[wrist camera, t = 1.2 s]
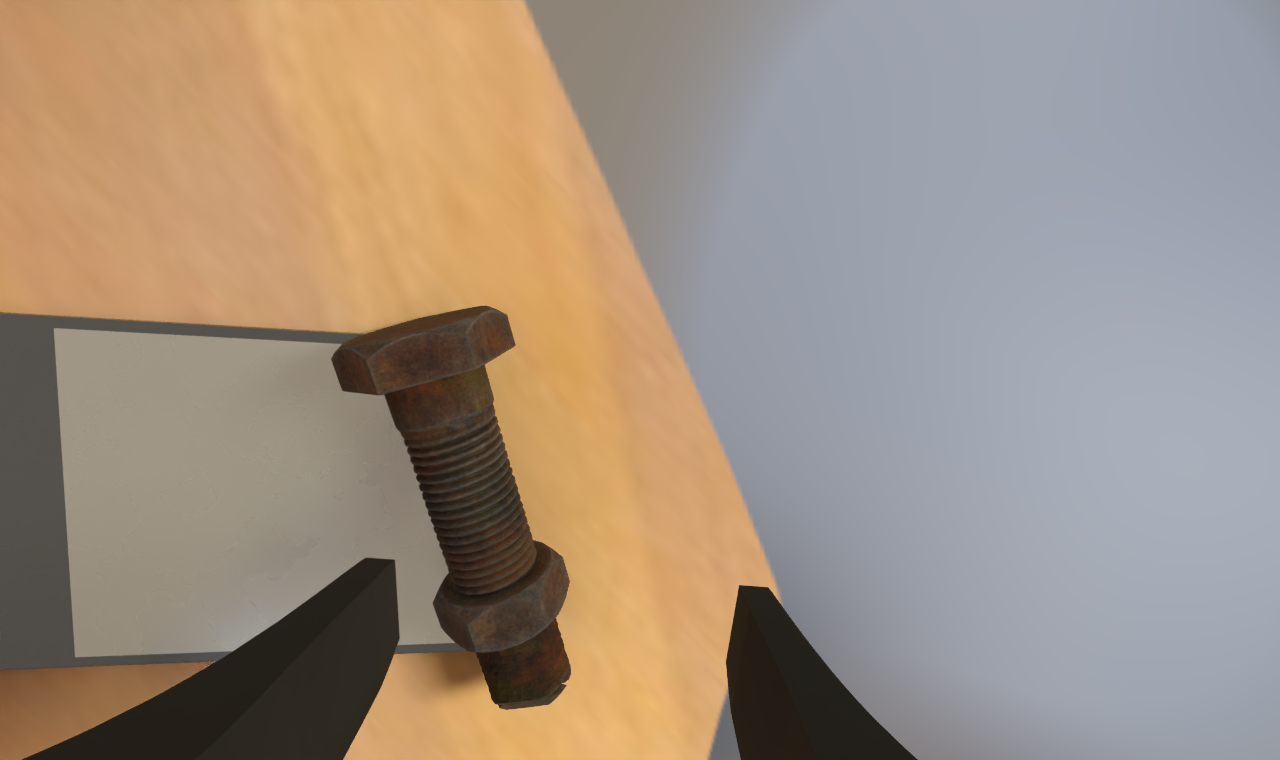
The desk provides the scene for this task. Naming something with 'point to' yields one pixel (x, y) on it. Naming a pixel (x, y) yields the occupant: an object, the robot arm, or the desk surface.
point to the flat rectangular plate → (191, 490)
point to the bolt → (470, 495)
